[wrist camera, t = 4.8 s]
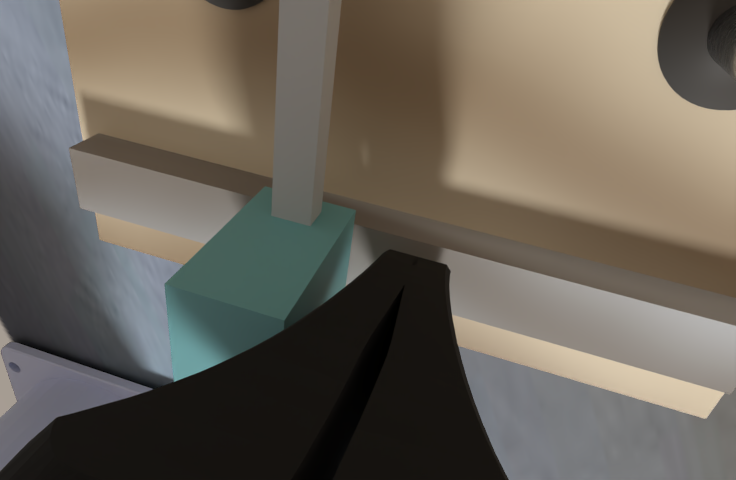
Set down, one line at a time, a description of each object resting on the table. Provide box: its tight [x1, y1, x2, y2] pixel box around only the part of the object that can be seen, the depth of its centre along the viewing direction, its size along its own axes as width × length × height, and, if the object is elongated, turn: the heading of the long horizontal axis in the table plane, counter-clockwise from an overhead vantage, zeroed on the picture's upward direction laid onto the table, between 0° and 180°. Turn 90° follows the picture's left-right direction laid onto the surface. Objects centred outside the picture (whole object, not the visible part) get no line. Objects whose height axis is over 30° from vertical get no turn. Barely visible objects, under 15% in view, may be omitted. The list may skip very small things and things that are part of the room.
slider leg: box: [165, 0, 356, 382], centre depth 10 cm, size 7×2×4 cm, turn 172°
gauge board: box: [59, 0, 736, 419], centre depth 11 cm, size 11×16×2 cm
